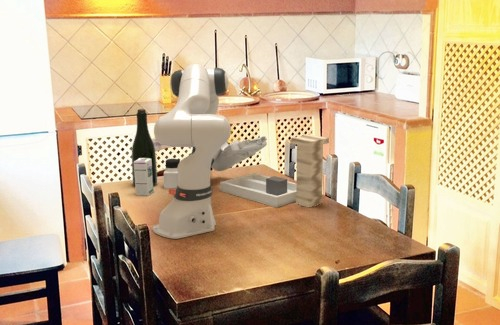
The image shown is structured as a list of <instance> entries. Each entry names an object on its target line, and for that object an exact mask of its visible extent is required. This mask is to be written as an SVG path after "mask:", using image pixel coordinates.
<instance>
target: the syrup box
mask: <svg viewBox="0 0 500 325" xmlns="http://www.w3.org/2000/svg"><path fill="white" fill-rule="evenodd" d="M134 174H135V186H134V187H135V195H136V196H144V195H147V196H150V195H151V194H152V193H154V186H153V174H152V159H151V158H139V159H137V160H136V161H134ZM147 196H146V197H147Z"/></svg>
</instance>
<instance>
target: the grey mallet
mask: <svg viewBox="0 0 500 325" xmlns="http://www.w3.org/2000/svg"><path fill="white" fill-rule="evenodd" d="M269 177H270V178H266V182H263V181H259V180H255V179H250V178H246V179H243V186H245V187H249V188H252V189H256V190H260V191H264V192H266V193H269V194H273V195H277V196H278V195H282V194H285V193H287V181H288V179H287V178H284V177H279V176H275V175H274V176H269Z"/></svg>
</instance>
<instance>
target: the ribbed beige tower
mask: <svg viewBox="0 0 500 325" xmlns="http://www.w3.org/2000/svg"><path fill="white" fill-rule="evenodd" d="M290 139H291V140H290V143H291V144H293V145H296V201H295V205H298V204H299V205H298V206H302V207H305V206H307V207H306V208H309V207H311V208H313V207H312V206H314V207H316V206H315V205H317V204H320V203H322V204H323V172H324V171H323V170H324V169H323V166H324V164H323V163H324V160H323V159H324V145H325V144H330V143H329V142H330V140H329V139H330V138H329V137H326V136H325V137H324V136H321V135H314V134H304V135H299V136H295V137H291V138H290ZM320 205H321V204H320ZM317 206H318V205H317Z"/></svg>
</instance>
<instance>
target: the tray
mask: <svg viewBox="0 0 500 325" xmlns="http://www.w3.org/2000/svg"><path fill="white" fill-rule="evenodd" d="M270 177H271V176H268V175H264V174H259V173H256V172H254V173H253V172H252V173H249V174H245V175H242V176H239V177H238V176H237V177H235V178H229V179H227V180H222V181H220V182H219V183H220V184H219V188H220V190H219V192H223V193H225V194H228V195H229V194H230V195H233V196H236V197H238V198H242V199H245V200H249V201H252V202H253V201H254V202H256V203H260V204H263V205H267V206H270V207H273V208H279V207H283V206H286V205H288V204H292V203H296V183H295V182H291V181H288V180H287V193H285V194H282V195H278V196H277V195H273V194H269V193H266V192H264V191H260V190H256V189H252V188H249V187H245V186H243V179H246V178H250V179H255V180H259V181H263V182H266V178H270Z"/></svg>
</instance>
